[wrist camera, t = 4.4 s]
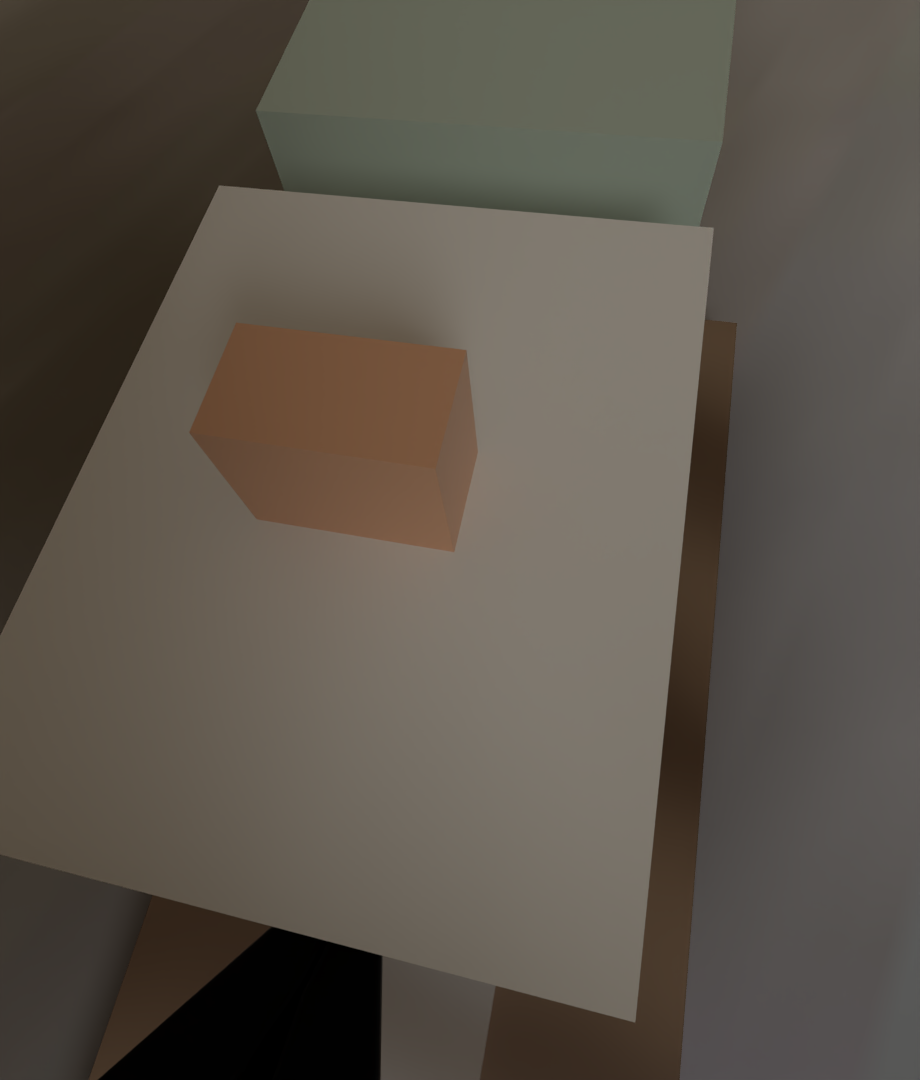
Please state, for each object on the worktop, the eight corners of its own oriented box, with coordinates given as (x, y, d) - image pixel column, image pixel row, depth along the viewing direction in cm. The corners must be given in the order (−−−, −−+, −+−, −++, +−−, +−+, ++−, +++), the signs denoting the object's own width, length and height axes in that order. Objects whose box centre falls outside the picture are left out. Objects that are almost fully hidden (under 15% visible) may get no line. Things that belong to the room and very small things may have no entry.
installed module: (620, 511, 16) (722, 141, 8) (386, 475, 17) (256, 110, 9) (649, 305, 18) (750, -144, 10) (442, 283, 19) (381, -147, 11)
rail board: (634, 1407, 11) (661, 1542, 9) (80, 1213, 13) (-14, 1286, 11) (722, 360, 20) (748, 294, 17) (375, 321, 21) (357, 255, 19)
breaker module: (563, 919, 13) (678, 1083, 3) (277, 849, 14) (-285, 818, 4) (613, 563, 15) (753, 94, 6) (372, 524, 16) (162, 60, 7)
